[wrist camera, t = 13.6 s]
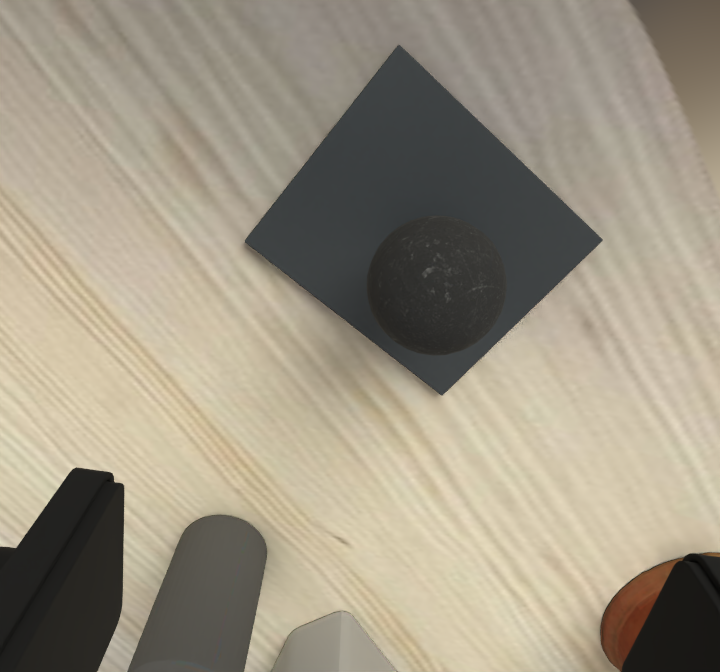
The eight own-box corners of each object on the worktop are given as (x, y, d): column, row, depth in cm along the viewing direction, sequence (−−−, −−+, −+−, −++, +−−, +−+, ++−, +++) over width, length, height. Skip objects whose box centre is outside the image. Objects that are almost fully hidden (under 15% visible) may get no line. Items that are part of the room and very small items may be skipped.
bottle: (167, 563, 41) (65, 814, 27) (198, 500, 39) (104, 740, 25) (247, 592, 42) (189, 850, 28) (282, 533, 40) (236, 781, 26)
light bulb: (345, 223, 31) (337, 288, 22) (442, 163, 29) (477, 205, 20) (401, 310, 33) (415, 405, 23) (494, 257, 31) (547, 335, 22)
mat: (245, 239, 32) (244, 241, 31) (398, 44, 28) (399, 44, 27) (441, 391, 35) (442, 396, 35) (599, 237, 31) (603, 240, 31)
